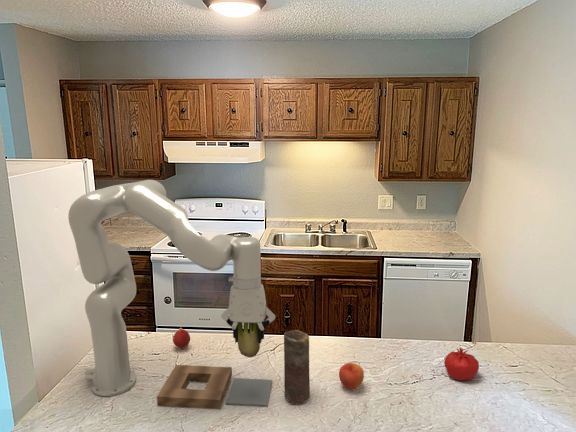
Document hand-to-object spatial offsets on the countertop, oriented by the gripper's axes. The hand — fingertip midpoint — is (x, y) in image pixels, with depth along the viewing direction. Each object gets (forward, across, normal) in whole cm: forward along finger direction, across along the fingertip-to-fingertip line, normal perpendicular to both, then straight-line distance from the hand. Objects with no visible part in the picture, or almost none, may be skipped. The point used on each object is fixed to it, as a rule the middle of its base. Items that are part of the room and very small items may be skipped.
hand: (248, 340), depth 122 cm
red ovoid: (+17, -28, +23) cm, 40 cm away
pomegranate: (+17, +65, +14) cm, 69 cm away
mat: (+17, 0, 0) cm, 17 cm away
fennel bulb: (+5, 0, 0) cm, 5 cm away
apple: (+17, +30, +5) cm, 35 cm away
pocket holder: (+17, -16, 0) cm, 23 cm away
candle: (+17, +14, -1) cm, 22 cm away
